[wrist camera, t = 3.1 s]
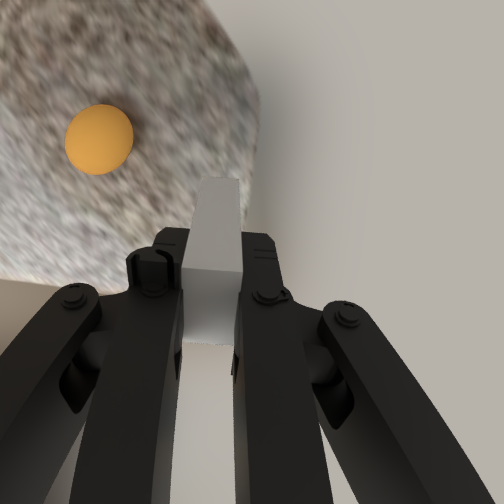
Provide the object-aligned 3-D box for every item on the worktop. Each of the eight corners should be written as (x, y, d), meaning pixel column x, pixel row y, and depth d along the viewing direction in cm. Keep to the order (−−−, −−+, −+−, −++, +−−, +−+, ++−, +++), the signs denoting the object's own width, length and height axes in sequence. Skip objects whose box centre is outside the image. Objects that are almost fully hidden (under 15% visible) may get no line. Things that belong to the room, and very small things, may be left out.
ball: (82, 101, 22) (50, 113, 17) (142, 99, 22) (120, 109, 18) (83, 161, 25) (56, 185, 20) (141, 162, 25) (121, 186, 21)
